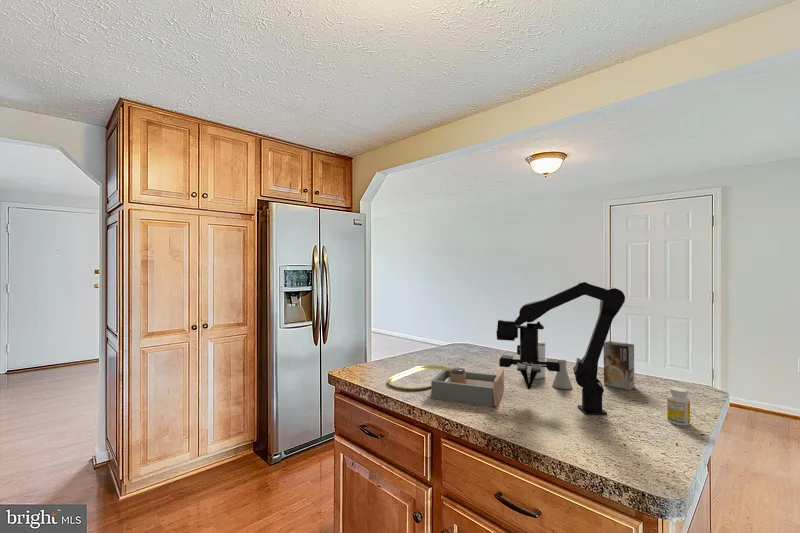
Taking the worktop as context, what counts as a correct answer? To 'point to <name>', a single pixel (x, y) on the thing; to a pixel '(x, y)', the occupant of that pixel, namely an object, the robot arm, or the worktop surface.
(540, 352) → the syrup box
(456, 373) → the spice jar
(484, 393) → the dock
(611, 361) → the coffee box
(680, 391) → the supplement bottle
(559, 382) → the flask
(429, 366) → the gold oval hoop
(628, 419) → the worktop surface
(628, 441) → the worktop surface
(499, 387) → the tray
